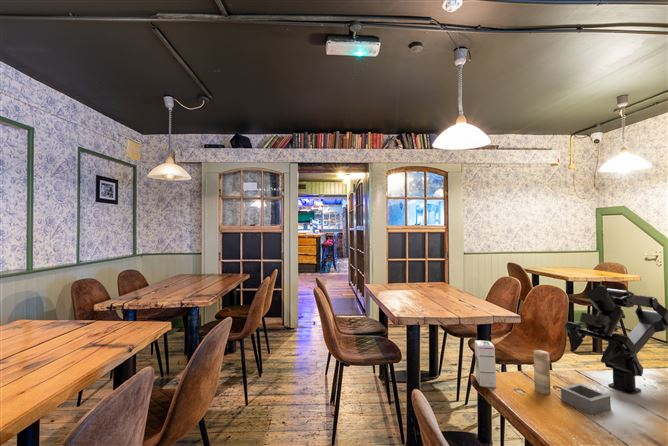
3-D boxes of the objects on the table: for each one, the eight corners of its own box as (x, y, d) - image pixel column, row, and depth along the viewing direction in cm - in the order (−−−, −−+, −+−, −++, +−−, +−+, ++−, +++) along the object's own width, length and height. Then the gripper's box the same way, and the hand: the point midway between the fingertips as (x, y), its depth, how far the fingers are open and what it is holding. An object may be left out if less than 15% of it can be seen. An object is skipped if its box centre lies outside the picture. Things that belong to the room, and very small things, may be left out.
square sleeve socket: (579, 395, 104) (579, 383, 104) (610, 409, 96) (610, 395, 96) (561, 400, 101) (560, 387, 101) (591, 414, 92) (591, 401, 93)
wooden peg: (540, 386, 110) (539, 349, 111) (553, 392, 106) (552, 353, 106) (531, 388, 108) (530, 351, 109) (544, 394, 104) (542, 355, 105)
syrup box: (497, 387, 109) (495, 346, 110) (478, 386, 110) (477, 345, 111) (492, 380, 115) (491, 340, 116) (475, 379, 116) (474, 339, 117)
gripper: (566, 299, 114) (545, 332, 110) (628, 310, 96) (605, 351, 92) (582, 318, 116) (562, 352, 112) (645, 333, 98) (624, 374, 94)
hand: (586, 356), depth 103 cm, fingers open, 9 cm apart
